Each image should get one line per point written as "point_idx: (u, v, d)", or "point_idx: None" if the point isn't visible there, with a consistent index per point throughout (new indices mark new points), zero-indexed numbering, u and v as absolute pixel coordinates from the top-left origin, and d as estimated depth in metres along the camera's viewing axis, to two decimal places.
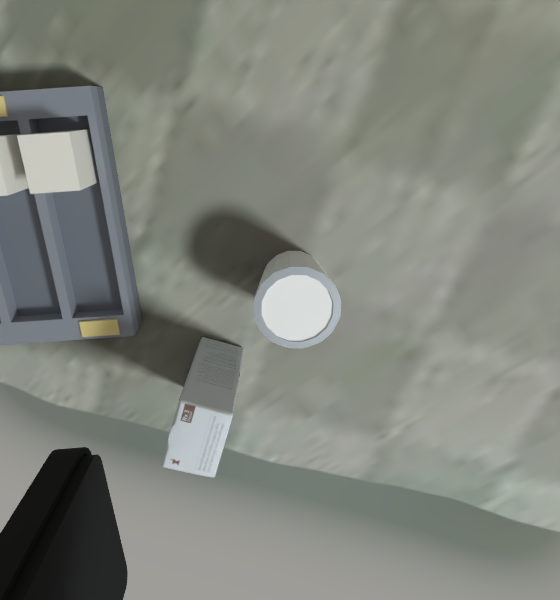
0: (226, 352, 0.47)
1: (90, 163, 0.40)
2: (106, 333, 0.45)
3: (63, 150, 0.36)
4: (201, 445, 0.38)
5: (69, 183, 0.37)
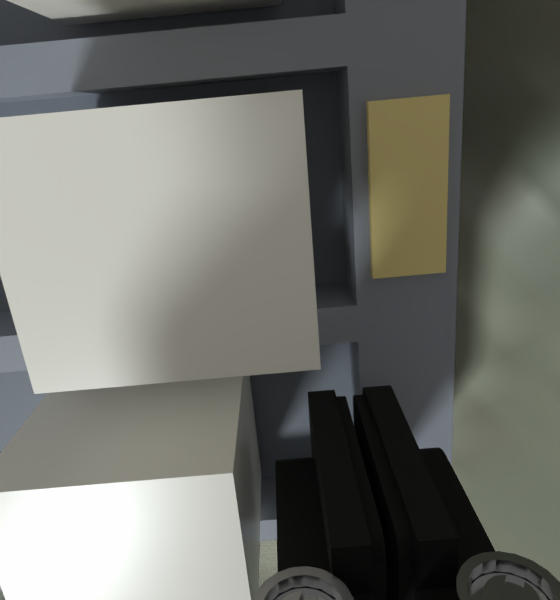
0: None
1: None
2: None
3: None
4: None
5: None
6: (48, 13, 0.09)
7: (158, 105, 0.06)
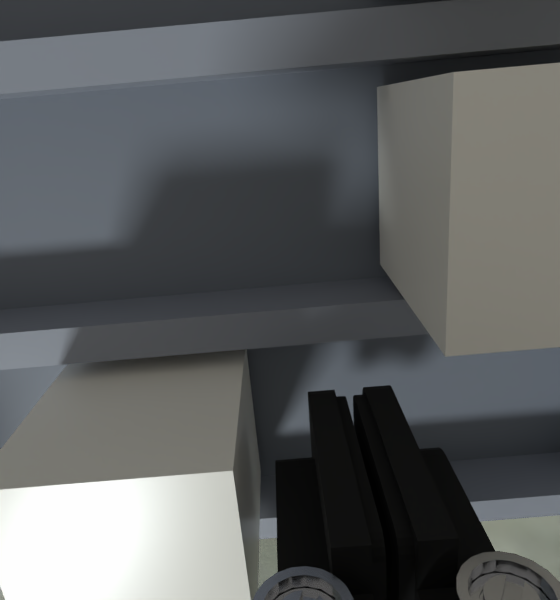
0: None
1: None
2: None
3: None
4: None
5: None
6: None
7: None
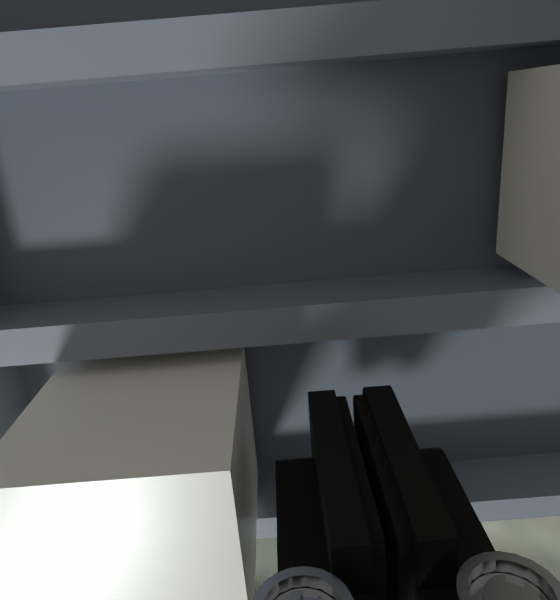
0: None
1: None
2: None
3: None
4: None
5: None
6: None
7: None
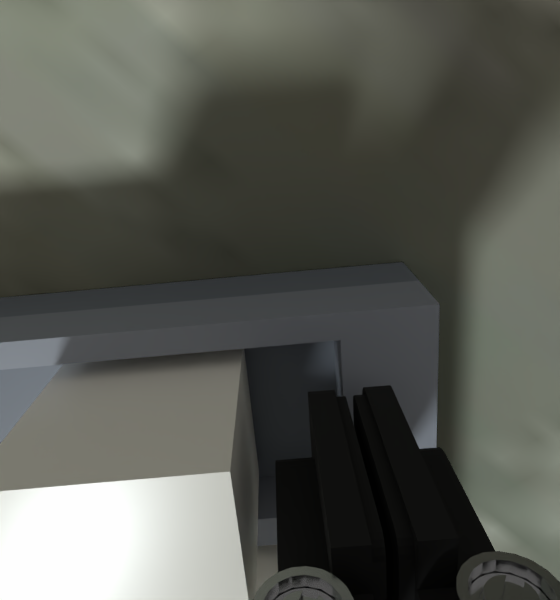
0: None
1: None
2: None
3: None
4: None
5: None
6: None
7: None
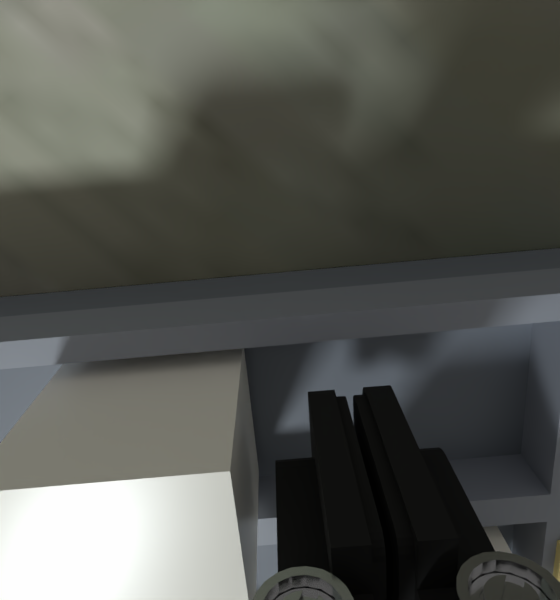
0: None
1: None
2: None
3: None
4: None
5: None
6: None
7: None
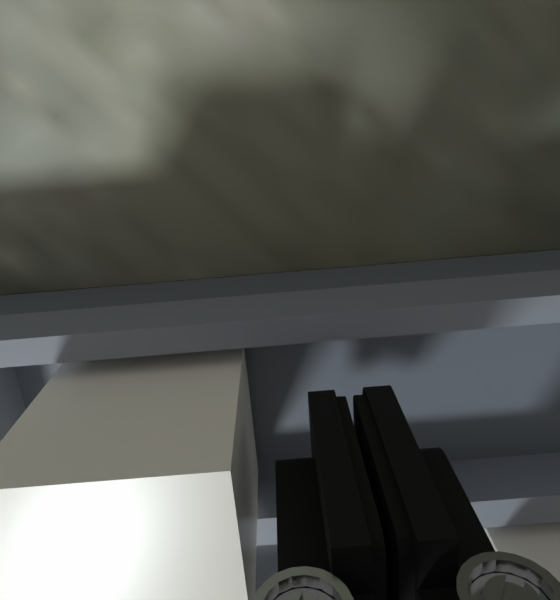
0: None
1: None
2: None
3: None
4: None
5: None
6: None
7: None
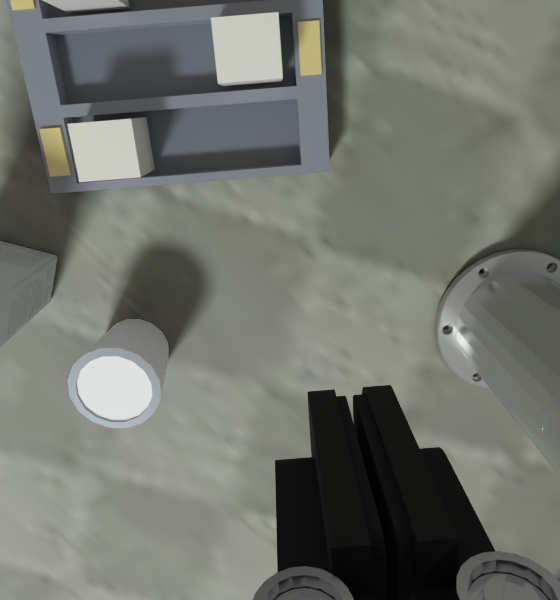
0: (44, 291, 0.41)
1: None
2: (49, 160, 0.36)
3: (120, 168, 0.34)
4: None
5: (85, 171, 0.34)
6: (64, 9, 0.33)
7: (250, 14, 0.31)
